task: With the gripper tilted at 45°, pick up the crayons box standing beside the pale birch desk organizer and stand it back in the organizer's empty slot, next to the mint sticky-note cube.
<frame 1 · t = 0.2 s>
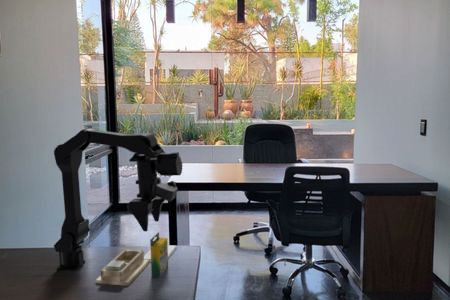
hand: (151, 226, 124), 15 cm above the table, tool pointing down, fingers open, 9 cm apart
organizer: (123, 272, 126), on the table
external hard drive: (159, 256, 139), on the table
crayon box: (160, 272, 126), on the table
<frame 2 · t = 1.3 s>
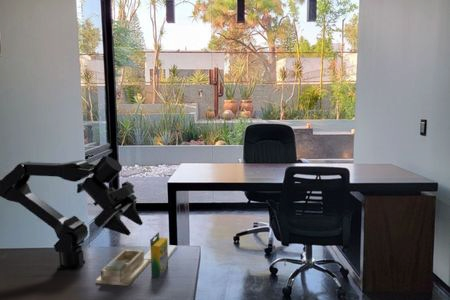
hand: (135, 229, 125), 13 cm above the table, tool tilted 45°, fingers open, 9 cm apart
nothing on the table moved.
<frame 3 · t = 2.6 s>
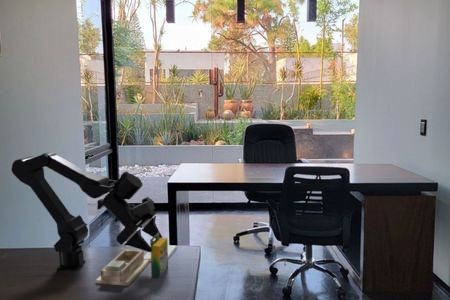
hand: (156, 245, 124), 9 cm above the table, tool tilted 45°, fingers open, 9 cm apart
nothing on the table moved.
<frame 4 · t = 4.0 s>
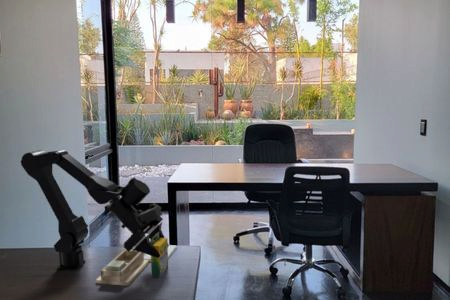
hand: (163, 251, 124), 7 cm above the table, tool tilted 45°, fingers closed on crayon box, 7 cm apart
crayon box: (160, 272, 126), on the table, touching gripper
everything else where it was.
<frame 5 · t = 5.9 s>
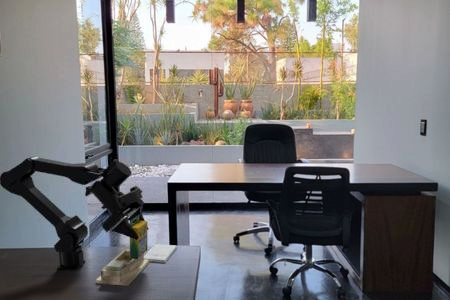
hand: (142, 234, 125), 12 cm above the table, tool tilted 45°, fingers closed on crayon box, 7 cm apart
crayon box: (139, 255, 126), point 5 cm above the table, touching gripper
everything else where it was.
when the fingers open (9 cm above the table, at t = 7.9 s): crayon box drops 1 cm, resting on organizer.
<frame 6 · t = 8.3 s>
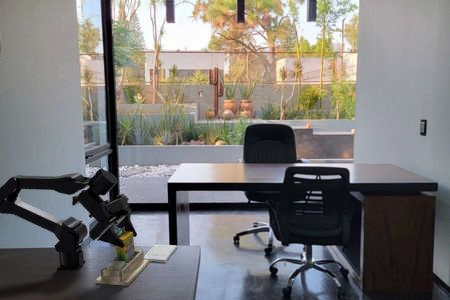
hand: (130, 241, 127), 9 cm above the table, tool tilted 45°, fingers open, 9 cm apart
crayon box: (127, 266, 128), point 1 cm above the table, touching organizer
everything else where it was.
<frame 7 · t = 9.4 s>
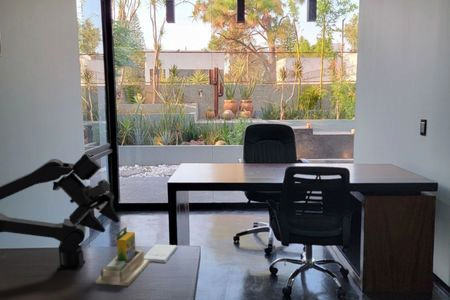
hand: (111, 226, 127), 14 cm above the table, tool tilted 45°, fingers open, 9 cm apart
nothing on the table moved.
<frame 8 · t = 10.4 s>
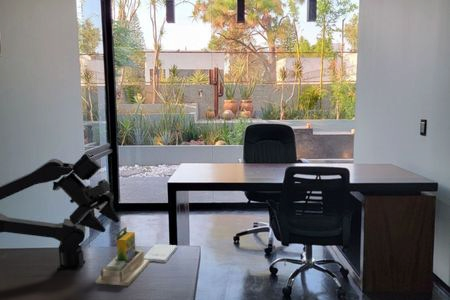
hand: (111, 226, 127), 14 cm above the table, tool tilted 45°, fingers open, 9 cm apart
nothing on the table moved.
at the end: crayon box 0.0 cm from the target spot on the organizer, point 0.8 cm above the organizer's base; crayon box tilted 0°; the gripper is holding nothing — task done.
